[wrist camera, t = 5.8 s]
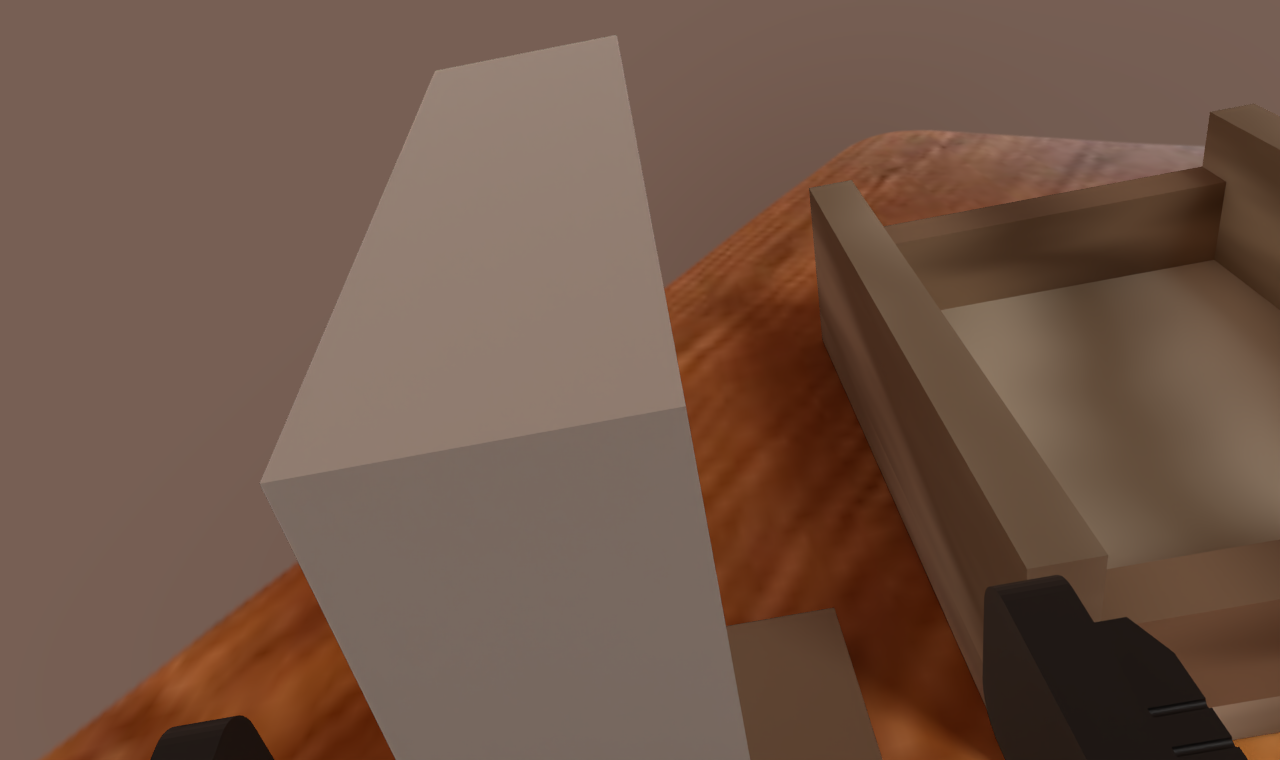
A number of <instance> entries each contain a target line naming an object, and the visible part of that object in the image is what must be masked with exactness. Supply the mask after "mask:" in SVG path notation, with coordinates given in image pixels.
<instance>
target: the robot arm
mask: <svg viewBox="0 0 1280 760" xmlns="http://www.w3.org/2000/svg"><path fill="white" fill-rule="evenodd" d="M982 679H983V692H984V698H985V703H986V708H987V712H988V715H989V719H990V722H991V726H992V729H993V732H994V734H995V737H996V739H997V742H998V744H999V746H1000V749H1001V751H1002V753H1003V755H1004V758H1005V760H1248V759H1247V758H1246V756H1245V755H1244V753H1243V752H1242V750H1241V749H1240V747H1235V745H1234V743H1233V741H1232V736H1231V734H1230V733H1229V731H1228V730H1227V729H1226V727H1225V726H1224V724H1223V723H1222V721H1221V720H1220V718H1219V717H1218V716H1217V714H1216V713H1215V711H1214V710H1213V708H1209V707H1208V706H1207V703H1206V698H1205V697H1204V695H1203V694H1202V692H1201V691H1200V689H1199V688H1198V686H1197V685H1196V684H1195V682H1194V681H1193V679H1192V678H1191V676H1190V675H1189V673H1188V672H1187V670H1186V669H1185V668H1184V666H1183V665H1182V663H1181V662H1180V660H1179V659H1178V657H1177V656H1176V654H1175V653H1174V652H1173V651H1171V650H1170V649H1169V648H1168V647H1166V646H1165V645H1164V644H1162V643H1161V642H1160V641H1158V640H1157V639H1156V638H1154V637H1153V636H1152V635H1150V634H1149V633H1148V632H1146V631H1145V630H1144V629H1142V628H1141V627H1140V626H1138V625H1137V624H1136V623H1134V622H1133V621H1132V620H1130V619H1129V618H1128V617H1122V618H1117V619H1111V620H1105V621H1099V622H1094V621H1093V620H1092V618H1091V617H1090V615H1089V613H1088V612H1087V610H1086V608H1085V607H1084V605H1083V604H1082V602H1081V600H1080V599H1079V597H1078V596H1077V594H1076V592H1075V591H1074V589H1073V588H1072V586H1071V585H1070V583H1069V582H1068V581H1067V580H1066V579H1065V578H1064V577H1063V576H1061V575H1052V576H1046V577H1041V578H1035V579H1029V580H1024V581H1018V582H1012V583H1006V584H1001V585H995V586H989V587H988V588H987V589H986V591H985V595H984V625H983V675H982ZM151 760H274V759H273V757H272V755H271V754H270V752H269V750H268V749H267V747H266V745H265V744H264V742H263V740H262V739H261V737H260V735H259V734H258V732H257V730H256V729H255V727H254V725H253V724H252V723H251V721H250V720H249V719H247V718H246V717H244V716H233V717H228V718H222V719H216V720H210V721H205V722H199V723H193V724H188V725H182V726H176V727H172V728H170V729H169V730H167V731H166V732H165V733H164V734H163V735H162V737H161V738H160V740H159V741H158V743H157V745H156V748H155V750H154V752H153V755H152V757H151Z"/></svg>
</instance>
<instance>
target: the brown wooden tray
mask: <svg viewBox="0 0 1280 760" xmlns="http://www.w3.org/2000/svg"><path fill="white" fill-rule="evenodd" d="M809 192H810V204H811V215H812V227H813V238H814V250H815V261H816V273H817V284H818V295H819V307H820V318H821V330H822V340H823V342H824V344H825V347H826V349H827V351H828V353H829V356H830V358H831V360H832V362H833V365H834V367H835V369H836V371H837V374H838V376H839V378H840V380H841V383H842V385H843V387H844V389H845V392H846V394H847V396H848V398H849V401H850V403H851V405H852V407H853V410H854V412H855V414H856V416H857V419H858V421H859V423H860V425H861V428H862V430H863V432H864V434H865V437H866V439H867V441H868V443H869V445H870V448H871V450H872V452H873V454H874V457H875V459H876V461H877V463H878V466H879V468H880V470H881V472H882V475H883V477H884V479H885V481H886V484H887V486H888V488H889V490H890V493H891V495H892V497H893V499H894V502H895V504H896V506H897V508H898V511H899V513H900V515H901V517H902V520H903V522H904V524H905V526H906V529H907V531H908V533H909V535H910V538H911V540H912V542H913V544H914V547H915V549H916V551H917V553H918V556H919V558H920V560H921V562H922V565H923V567H924V569H925V571H926V574H927V576H928V578H929V580H930V583H931V585H932V587H933V589H934V592H935V594H936V596H937V598H938V601H939V603H940V605H941V607H942V610H943V612H944V614H945V616H946V619H947V621H948V623H949V625H950V628H951V630H952V632H953V634H954V637H955V639H956V641H957V643H958V646H959V648H960V650H961V652H962V655H963V657H964V659H965V661H966V664H967V666H968V668H969V670H970V673H971V675H972V677H973V679H974V682H975V684H976V686H977V688H978V691H979V693H980V695H981V697H982V700H983V702H984V704H985V706H986V703H985V698H984V692H983V679H982V675H983V625H984V595H985V591H986V589H987V588H988V587H989V586H995V585H1001V584H1006V583H1012V582H1018V581H1024V580H1029V579H1035V578H1041V577H1046V576H1052V575H1061V576H1063V577H1064V578H1065V579H1066V580H1067V581H1068V582H1069V583H1070V585H1071V586H1072V588H1073V589H1074V591H1075V592H1076V594H1077V596H1078V597H1079V599H1080V600H1081V602H1082V604H1083V605H1084V607H1085V608H1086V610H1087V612H1088V613H1089V615H1090V617H1091V618H1092V620H1093V621H1094V622H1099V621H1105V620H1111V619H1117V618H1122V617H1128V618H1129V619H1130V620H1132V621H1133V622H1134V623H1136V624H1137V625H1138V626H1140V627H1141V628H1142V629H1144V630H1145V631H1146V632H1148V633H1149V634H1150V635H1152V636H1153V637H1154V638H1156V639H1157V640H1158V641H1160V642H1161V643H1162V644H1164V645H1165V646H1166V647H1168V648H1169V649H1170V650H1171V651H1173V652H1174V653H1175V654H1176V656H1177V657H1178V659H1179V660H1180V662H1181V663H1182V665H1183V666H1184V668H1185V669H1186V670H1187V672H1188V673H1189V675H1190V676H1191V678H1192V679H1193V681H1194V682H1195V684H1196V685H1197V686H1198V688H1199V689H1200V691H1201V692H1202V694H1203V695H1204V697H1205V698H1206V703H1207V706H1208V707H1209V708H1213V710H1214V711H1215V713H1216V714H1217V716H1218V717H1219V718H1220V720H1221V721H1222V723H1223V724H1224V726H1225V727H1226V729H1227V730H1228V731H1229V733H1230V734H1231V736H1232V740H1236V739H1242V738H1248V737H1254V736H1260V735H1266V734H1272V733H1278V732H1280V116H1278V115H1276V114H1274V113H1272V112H1270V111H1268V110H1266V109H1264V108H1262V107H1260V106H1258V105H1255V104H1250V105H1244V106H1239V107H1234V108H1228V109H1223V110H1218V111H1213V112H1210V117H1209V124H1208V131H1207V138H1206V145H1205V152H1204V159H1203V166H1202V167H1198V168H1192V169H1187V170H1182V171H1176V172H1171V173H1166V174H1160V175H1155V176H1150V177H1145V178H1139V179H1134V180H1129V181H1123V182H1118V183H1113V184H1107V185H1102V186H1097V187H1091V188H1086V189H1081V190H1075V191H1070V192H1065V193H1059V194H1054V195H1049V196H1043V197H1038V198H1033V199H1028V200H1022V201H1017V202H1012V203H1006V204H1001V205H996V206H990V207H985V208H980V209H974V210H969V211H964V212H958V213H953V214H948V215H942V216H937V217H932V218H926V219H921V220H916V221H911V222H905V223H900V224H895V225H889V226H884V227H883V225H882V224H881V223H880V221H879V220H878V218H877V217H876V215H875V214H874V212H873V211H872V209H871V208H870V206H869V205H868V204H867V202H866V201H865V199H864V198H863V196H862V195H861V193H860V192H859V190H858V189H857V187H856V186H855V185H854V183H853V182H852V180H850V181H845V182H839V183H834V184H829V185H824V186H818V187H813V188H809ZM986 709H987V708H986Z"/></svg>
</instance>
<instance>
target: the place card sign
mask: <svg viewBox="0 0 1280 760" xmlns="http://www.w3.org/2000/svg"><path fill="white" fill-rule="evenodd" d="M260 485H261V488H262V490H263V492H264V494H265V496H266V498H267V500H268V502H269V504H270V506H271V508H272V510H273V512H274V514H275V516H276V518H277V520H278V522H279V524H280V526H281V528H282V530H283V532H284V534H285V536H286V538H287V541H288V543H289V545H290V547H291V549H292V551H293V553H294V554H295V556H296V559H297V561H298V563H299V565H300V567H301V569H302V571H303V573H304V575H305V577H306V579H307V581H308V583H309V585H310V587H311V589H312V591H313V593H314V595H315V597H316V599H317V601H318V603H319V605H320V607H321V609H322V611H323V613H324V615H325V618H326V620H327V622H328V624H329V626H330V628H331V630H332V632H333V634H334V636H335V638H336V640H337V642H338V644H339V646H340V648H341V650H342V652H343V654H344V656H345V658H346V660H347V662H348V664H349V666H350V668H351V670H352V672H353V674H354V676H355V678H356V680H357V682H358V684H359V686H360V688H361V690H362V692H363V694H364V696H365V699H366V701H367V703H368V705H369V707H370V709H371V711H372V713H373V715H374V717H375V719H376V721H377V723H378V725H379V727H380V729H381V731H382V733H383V735H384V737H385V739H386V741H387V743H388V745H389V747H390V749H391V751H392V753H393V755H394V757H395V759H396V760H882V757H881V753H880V750H879V747H878V744H877V741H876V738H875V735H874V731H873V728H872V725H871V722H870V719H869V716H868V713H867V709H866V706H865V703H864V700H863V697H862V694H861V690H860V687H859V684H858V681H857V678H856V675H855V672H854V668H853V665H852V662H851V659H850V656H849V653H848V650H847V646H846V643H845V640H844V637H843V634H842V631H841V628H840V624H839V621H838V618H837V615H836V612H835V609H834V608H829V609H823V610H817V611H811V612H805V613H800V614H794V615H788V616H782V617H776V618H771V619H765V620H759V621H753V622H748V623H742V624H736V625H730V626H726V624H725V619H724V613H723V608H722V602H721V597H720V591H719V586H718V580H717V575H716V569H715V564H714V558H713V553H712V547H711V542H710V536H709V531H708V525H707V520H706V514H705V509H704V503H703V498H702V493H701V487H700V482H699V476H698V471H697V465H696V460H695V454H694V449H693V443H692V438H691V432H690V427H689V421H688V416H687V410H686V405H685V399H684V394H683V389H682V383H681V378H680V373H679V367H678V362H677V356H676V351H675V346H674V340H673V335H672V330H671V324H670V319H669V313H668V308H667V303H666V297H665V292H664V287H663V281H662V276H661V271H660V266H659V260H658V255H657V249H656V244H655V238H654V233H653V228H652V222H651V217H650V212H649V206H648V201H647V195H646V190H645V185H644V179H643V174H642V169H641V163H640V158H639V152H638V147H637V142H636V136H635V131H634V125H633V120H632V115H631V109H630V104H629V98H628V93H627V88H626V82H625V77H624V72H623V66H622V61H621V55H620V50H619V45H618V40H617V35H615V36H609V37H604V38H599V39H594V40H589V41H584V42H579V43H573V44H568V45H563V46H558V47H553V48H548V49H543V50H538V51H533V52H528V53H523V54H518V55H513V56H508V57H503V58H498V59H493V60H487V61H482V62H478V63H472V64H467V65H462V66H457V67H452V68H447V69H442V70H437V71H435V73H434V75H433V77H432V80H431V82H430V85H429V87H428V89H427V92H426V94H425V96H424V99H423V101H422V103H421V106H420V108H419V110H418V113H417V115H416V117H415V120H414V122H413V124H412V127H411V130H410V131H409V134H408V136H407V139H406V141H405V143H404V146H403V148H402V150H401V153H400V155H399V157H398V160H397V162H396V164H395V167H394V169H393V171H392V174H391V176H390V179H389V181H388V183H387V186H386V188H385V190H384V193H383V195H382V197H381V200H380V202H379V204H378V207H377V209H376V211H375V214H374V216H373V218H372V221H371V223H370V226H369V228H368V230H367V233H366V235H365V237H364V240H363V242H362V244H361V247H360V249H359V251H358V254H357V256H356V258H355V261H354V263H353V266H352V268H351V270H350V272H349V275H348V277H347V279H346V282H345V284H344V286H343V289H342V291H341V294H340V296H339V298H338V301H337V303H336V305H335V308H334V310H333V312H332V315H331V317H330V319H329V322H328V324H327V326H326V329H325V331H324V333H323V336H322V338H321V340H320V343H319V345H318V347H317V350H316V352H315V355H314V357H313V359H312V362H311V364H310V366H309V369H308V371H307V373H306V376H305V378H304V380H303V383H302V385H301V387H300V390H299V392H298V395H297V397H296V399H295V402H294V404H293V407H292V409H291V411H290V413H289V416H288V418H287V420H286V423H285V425H284V427H283V430H282V432H281V434H280V437H279V439H278V441H277V444H276V446H275V448H274V451H273V453H272V456H271V458H270V460H269V463H268V465H267V467H266V470H265V472H264V475H263V477H262V479H261V481H260Z"/></svg>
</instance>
